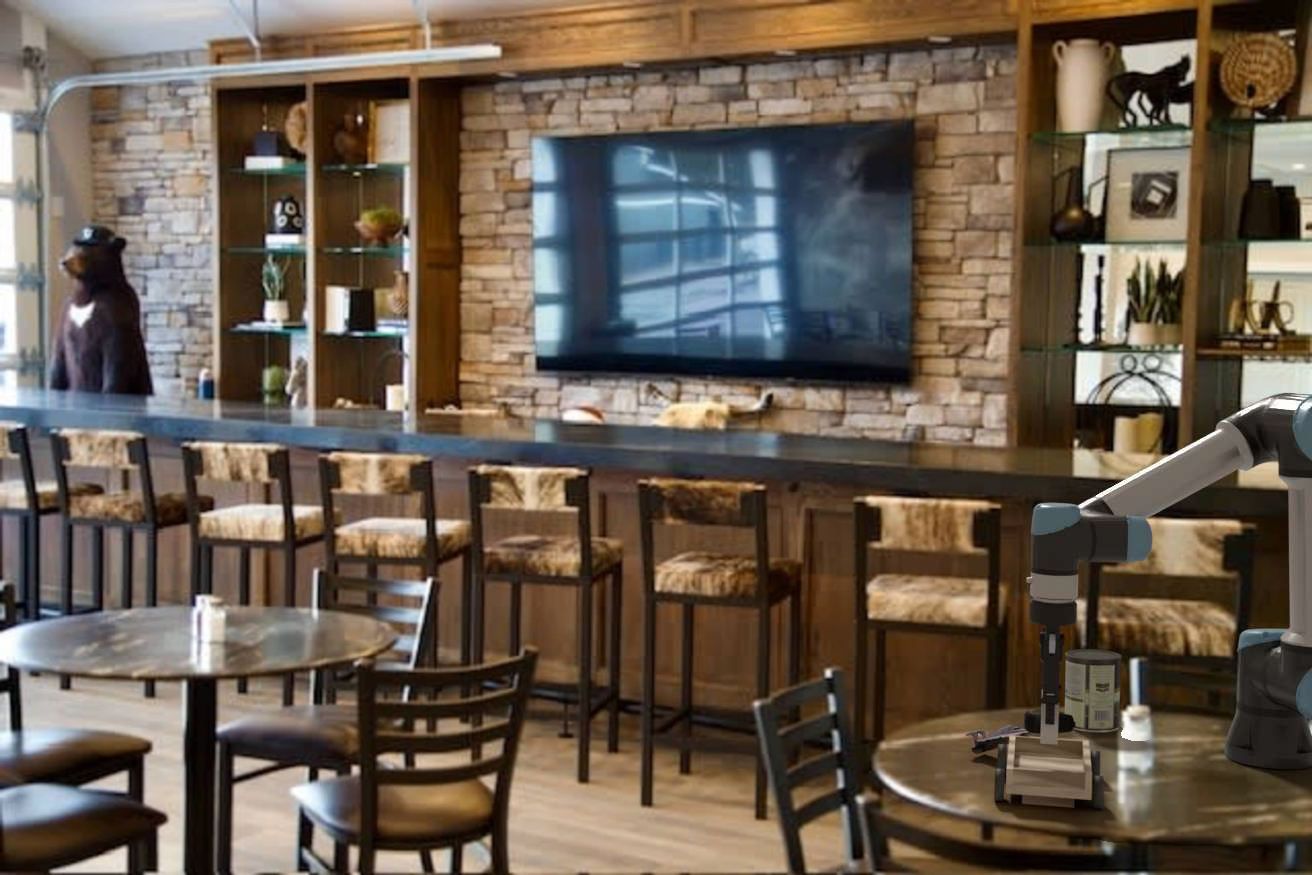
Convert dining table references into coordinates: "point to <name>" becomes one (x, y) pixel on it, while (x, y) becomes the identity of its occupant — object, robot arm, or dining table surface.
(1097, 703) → the coffee can
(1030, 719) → the tape measure
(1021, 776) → the cart
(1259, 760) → the robot arm
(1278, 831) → the dining table surface
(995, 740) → the toy race car
